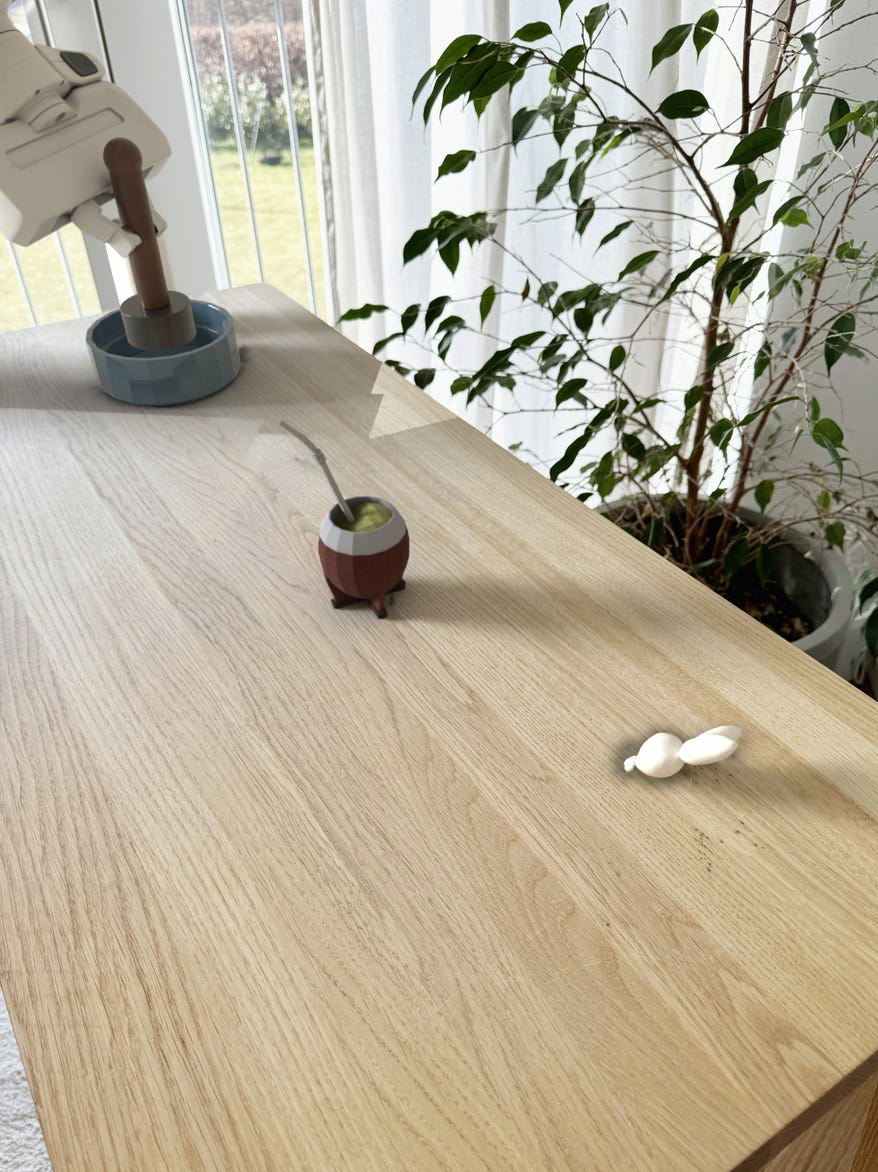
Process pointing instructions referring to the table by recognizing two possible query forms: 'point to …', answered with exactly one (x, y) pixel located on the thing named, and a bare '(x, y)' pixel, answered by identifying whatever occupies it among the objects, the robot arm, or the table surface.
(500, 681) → the table surface
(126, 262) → the can
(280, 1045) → the table surface
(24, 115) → the robot arm
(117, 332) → the bowl
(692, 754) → the rabbit figurine
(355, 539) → the mate gourd
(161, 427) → the table surface
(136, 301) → the wooden handled press
